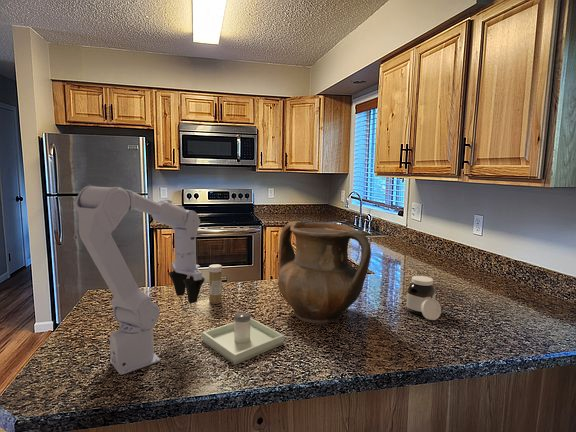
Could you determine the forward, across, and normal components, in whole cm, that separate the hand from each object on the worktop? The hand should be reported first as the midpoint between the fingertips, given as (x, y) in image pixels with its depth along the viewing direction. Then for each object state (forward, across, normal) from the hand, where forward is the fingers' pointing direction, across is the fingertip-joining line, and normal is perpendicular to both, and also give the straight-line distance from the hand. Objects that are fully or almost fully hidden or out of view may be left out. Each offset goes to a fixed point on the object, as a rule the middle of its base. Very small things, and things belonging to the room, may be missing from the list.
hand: (186, 298), depth 102 cm
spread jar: (+11, -38, -67) cm, 78 cm away
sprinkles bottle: (+11, +16, -19) cm, 27 cm away
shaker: (+10, -15, -9) cm, 20 cm away
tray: (+10, -15, -9) cm, 20 cm away
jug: (+11, -15, -40) cm, 44 cm away
